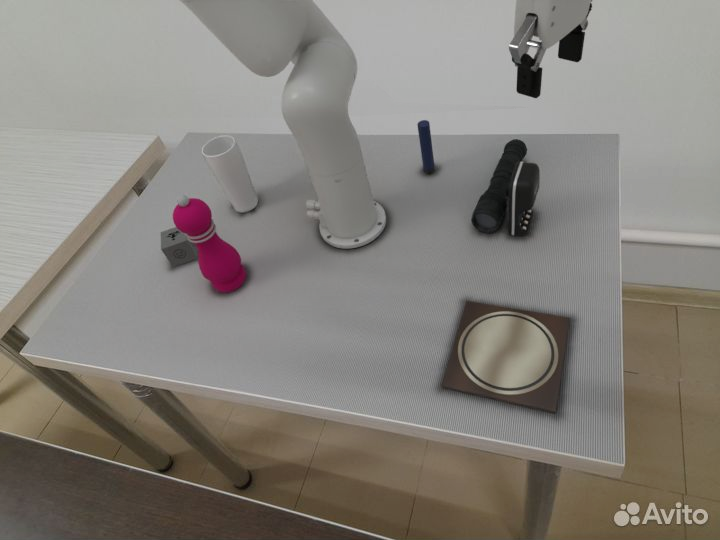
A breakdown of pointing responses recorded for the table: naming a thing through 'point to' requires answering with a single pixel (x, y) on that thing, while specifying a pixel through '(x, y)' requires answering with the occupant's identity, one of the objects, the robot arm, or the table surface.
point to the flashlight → (498, 189)
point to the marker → (426, 146)
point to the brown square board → (508, 355)
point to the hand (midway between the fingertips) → (549, 76)
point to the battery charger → (522, 197)
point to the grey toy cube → (177, 247)
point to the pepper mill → (209, 245)
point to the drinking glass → (230, 172)
